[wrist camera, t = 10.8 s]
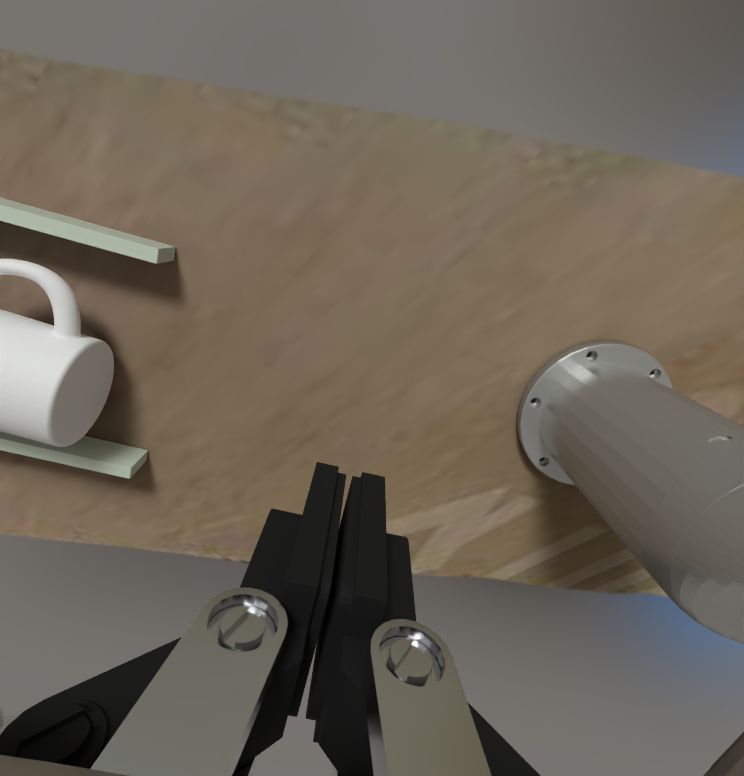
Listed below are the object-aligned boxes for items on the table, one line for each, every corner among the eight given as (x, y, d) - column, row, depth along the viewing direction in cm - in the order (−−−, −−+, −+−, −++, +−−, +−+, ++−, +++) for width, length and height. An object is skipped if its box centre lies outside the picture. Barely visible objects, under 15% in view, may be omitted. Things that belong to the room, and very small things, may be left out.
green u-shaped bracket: (175, 246, 33) (158, 248, 30) (146, 460, 39) (129, 478, 36) (-45, 185, 31) (-85, 180, 29) (-42, 417, 37) (-75, 433, 34)
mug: (107, 420, 38) (43, 468, 30) (-21, 384, 36) (-121, 425, 29) (130, 279, 34) (65, 293, 26) (-11, 233, 33) (-123, 235, 25)
